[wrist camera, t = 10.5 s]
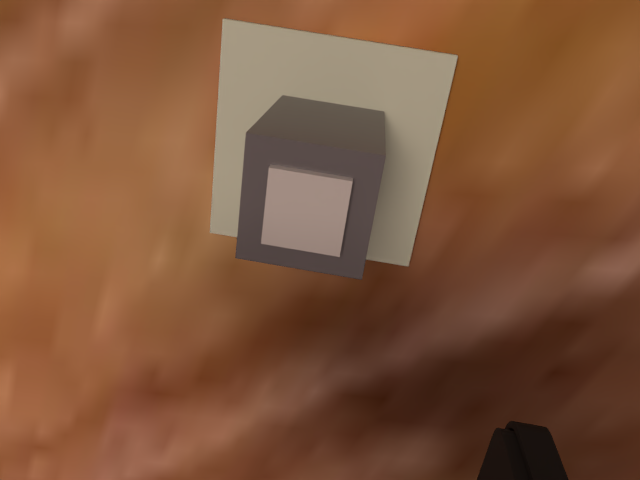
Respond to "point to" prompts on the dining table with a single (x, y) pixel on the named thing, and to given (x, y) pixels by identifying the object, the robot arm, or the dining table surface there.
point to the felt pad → (340, 88)
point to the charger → (311, 186)
